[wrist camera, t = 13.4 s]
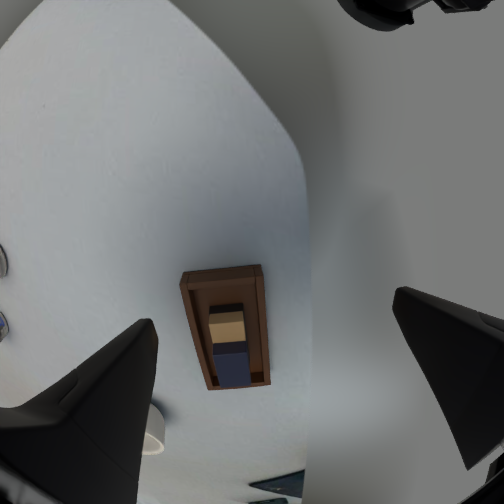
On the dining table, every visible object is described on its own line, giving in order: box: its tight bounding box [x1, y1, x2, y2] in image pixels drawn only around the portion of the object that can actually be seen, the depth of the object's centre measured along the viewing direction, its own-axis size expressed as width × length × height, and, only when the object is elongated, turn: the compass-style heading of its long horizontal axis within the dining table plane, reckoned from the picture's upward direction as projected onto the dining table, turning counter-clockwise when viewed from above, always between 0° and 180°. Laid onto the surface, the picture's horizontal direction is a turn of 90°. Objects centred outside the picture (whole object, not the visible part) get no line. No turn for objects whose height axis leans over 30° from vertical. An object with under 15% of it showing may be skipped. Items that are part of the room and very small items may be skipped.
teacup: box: [142, 403, 165, 455], centre depth 25 cm, size 10×8×5 cm
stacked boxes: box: [209, 303, 251, 388], centre depth 21 cm, size 6×3×4 cm, turn 5°
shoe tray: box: [179, 265, 271, 390], centre depth 23 cm, size 6×12×2 cm, turn 5°
